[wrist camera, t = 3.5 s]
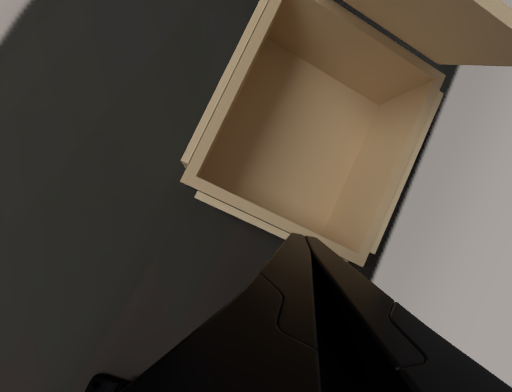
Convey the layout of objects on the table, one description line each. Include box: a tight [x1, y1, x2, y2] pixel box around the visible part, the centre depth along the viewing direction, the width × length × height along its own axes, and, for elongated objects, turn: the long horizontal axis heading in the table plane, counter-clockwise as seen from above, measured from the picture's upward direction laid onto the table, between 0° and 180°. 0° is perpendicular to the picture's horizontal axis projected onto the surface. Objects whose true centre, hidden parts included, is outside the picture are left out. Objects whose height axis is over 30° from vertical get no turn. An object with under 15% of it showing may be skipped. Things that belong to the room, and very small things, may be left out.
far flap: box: [343, 0, 512, 66], centre depth 13 cm, size 8×10×1 cm
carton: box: [180, 0, 446, 267], centre depth 19 cm, size 14×12×6 cm
